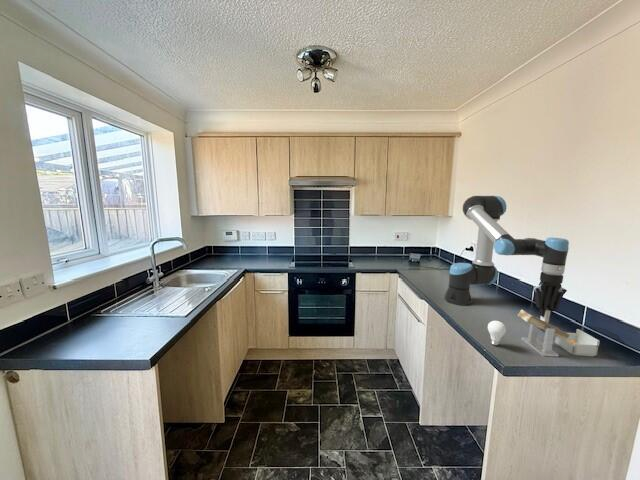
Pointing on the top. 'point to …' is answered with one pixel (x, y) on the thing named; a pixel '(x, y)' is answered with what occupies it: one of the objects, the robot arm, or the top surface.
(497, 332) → the light bulb
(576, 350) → the tray
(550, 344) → the stand
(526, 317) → the lever
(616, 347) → the top surface
